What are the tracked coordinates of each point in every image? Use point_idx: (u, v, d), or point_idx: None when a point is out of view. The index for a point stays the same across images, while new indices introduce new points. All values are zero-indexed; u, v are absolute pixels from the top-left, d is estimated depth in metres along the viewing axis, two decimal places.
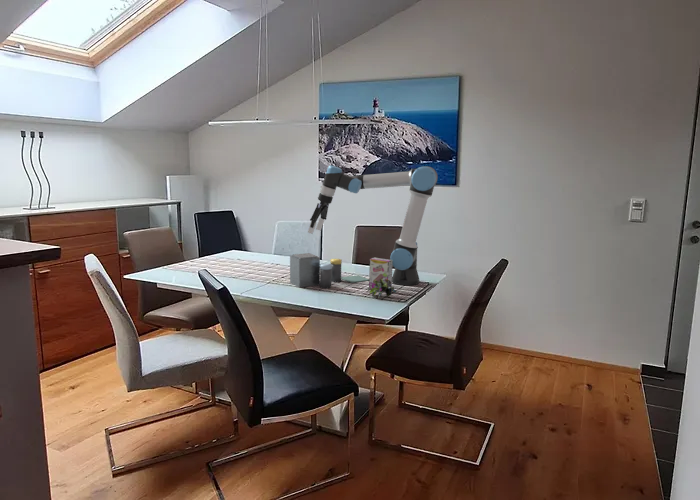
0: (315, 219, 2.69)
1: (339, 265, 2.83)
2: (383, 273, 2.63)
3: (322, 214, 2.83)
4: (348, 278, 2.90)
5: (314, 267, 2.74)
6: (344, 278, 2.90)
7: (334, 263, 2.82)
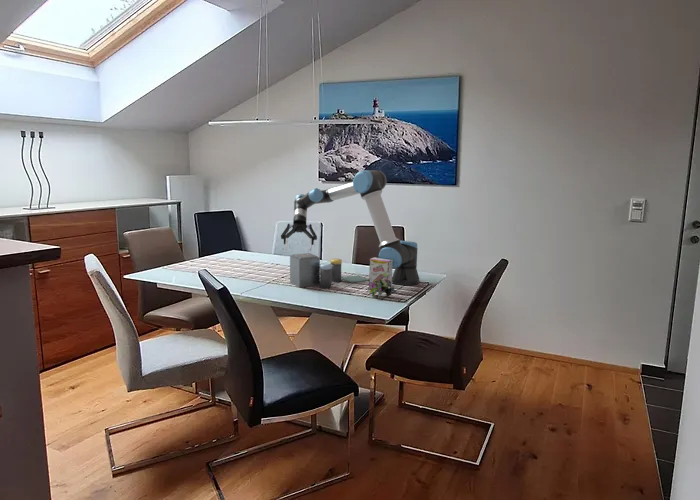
0: (282, 234, 2.90)
1: (339, 265, 2.83)
2: (383, 273, 2.63)
3: (308, 235, 2.92)
4: (348, 278, 2.90)
5: (314, 267, 2.74)
6: (344, 278, 2.90)
7: (334, 263, 2.82)
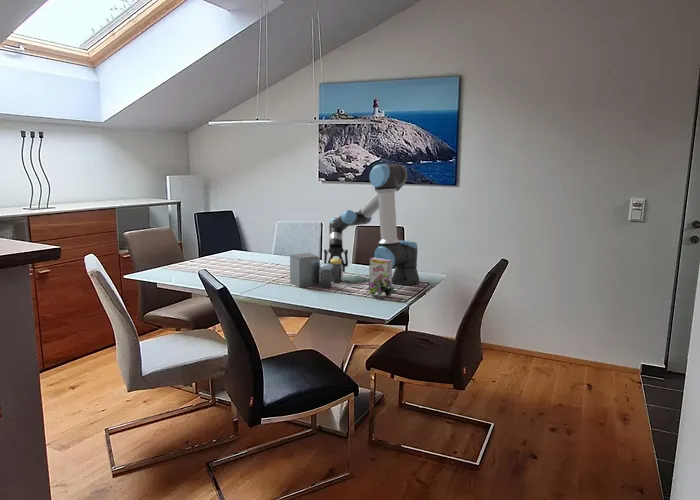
0: (324, 262, 2.86)
1: (339, 265, 2.83)
2: (383, 273, 2.63)
3: None
4: (348, 278, 2.90)
5: (314, 267, 2.74)
6: (344, 278, 2.90)
7: (334, 263, 2.82)
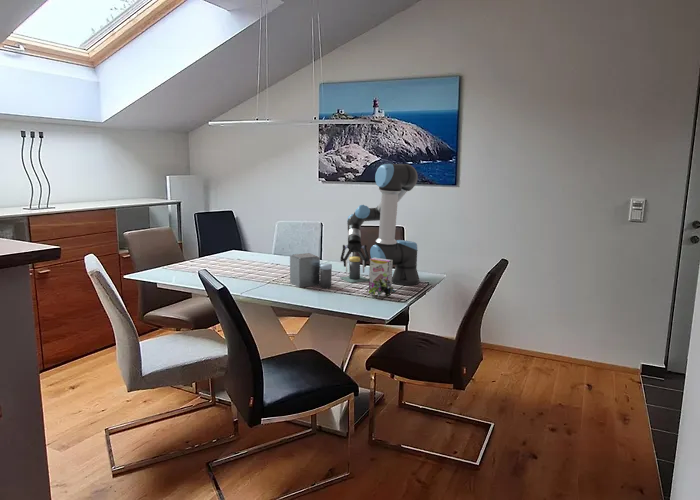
0: (341, 257, 2.90)
1: (358, 263, 2.87)
2: (383, 273, 2.63)
3: (361, 256, 2.92)
4: (348, 278, 2.90)
5: (314, 267, 2.74)
6: (344, 278, 2.90)
7: (353, 261, 2.86)
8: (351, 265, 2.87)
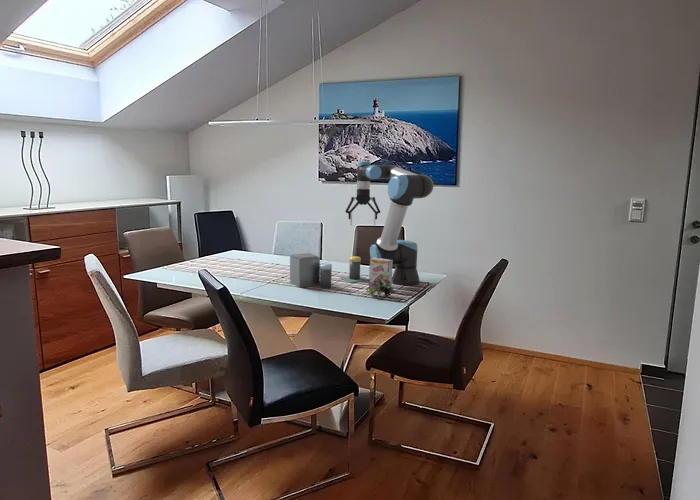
0: (346, 210, 2.98)
1: (359, 263, 2.87)
2: (383, 273, 2.63)
3: None
4: (348, 278, 2.90)
5: (314, 267, 2.74)
6: (344, 278, 2.90)
7: (353, 261, 2.86)
8: (351, 265, 2.87)
